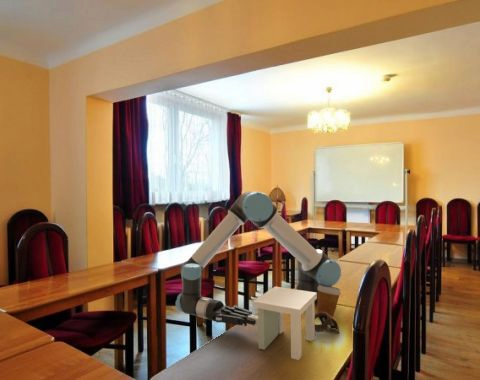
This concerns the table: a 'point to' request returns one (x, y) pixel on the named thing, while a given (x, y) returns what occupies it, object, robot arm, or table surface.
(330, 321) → the brown curved piece
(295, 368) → the table surface
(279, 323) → the stool
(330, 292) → the disposable coffee cup
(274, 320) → the panel
